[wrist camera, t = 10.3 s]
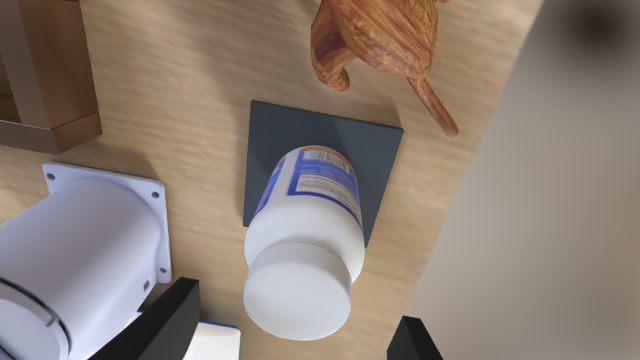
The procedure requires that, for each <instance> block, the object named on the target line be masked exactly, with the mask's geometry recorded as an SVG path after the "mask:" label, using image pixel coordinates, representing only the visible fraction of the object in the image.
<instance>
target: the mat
mask: <svg viewBox="0 0 640 360" xmlns="http://www.w3.org/2000/svg"><path fill="white" fill-rule="evenodd" d="M403 132H404V130H403V128H398V127H393V126H387V125H382V124H377V123H372V122H366V121H361V120H356V119H350V118H345V117H340V116H334V115H329V114H324V113H318V112H313V111H308V110H302V109H297V108H292V107H286V106H281V105H276V104H270V103H265V102H260V101H254V100H252V101H251V109H250V124H249V140H248V155H247V170H246V186H245V201H244V217H243V226H245V227H249V225H250V223H251V221H252V218H253V216H254V214H255V212H256V209H257V207H258V205H259V203H260V200H261V198H262V196H263V194H264V191H265V189H266V187H267V185H268V182H269V180H270V178H271V176H272V173H273V171H274V169H275V167H276V166H277V164H278V163H279V161H280V160H281V159H282V158H283V157H284V156H285V155H286V154H287V153H289V152H291V151H292V150H295V149H297V148H300V147H304V146H310V145H317V146H324V147H328V148H331V149H333V150H335V151H337V152H339V153H340V154H341V155H343V156H344V157H345V158H346V159H347V160H348V162H349V163H350V164H351V166H352V168H353V170H354V172H355V175H356V179H357V186H358V194H359V202H360V211H361V219H362V228H363V236H364V248H367V245H368V241H369V238H370V235H371V232H372V229H373V226H374V223H375V219H376V216H377V213H378V210H379V207H380V204H381V201H382V198H383V194H384V191H385V188H386V185H387V182H388V179H389V176H390V172H391V169H392V166H393V163H394V160H395V157H396V154H397V150H398V147H399V144H400V141H401V138H402V135H403Z"/></svg>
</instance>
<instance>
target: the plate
mask: <svg viewBox="0 0 640 360" xmlns="http://www.w3.org/2000/svg"><path fill="white" fill-rule="evenodd" d="M143 312H144V311H143V310H137V311H136V313H135V314H134V315H133V317H132V318H131V320H130V321H129V323H128V324H127V325H126V327H127V326H128V325H129V324H130V323H131V322H133V321H134V320H135V319H136V318H137V317H138V316H139V315H141V314H142V313H143ZM126 327H125V328H126ZM125 328H124V329H125ZM240 334H241V332H240V330H239V329H238V328H237V327H235V326H233V325H227V324H221V323H215V322H209V321H203V320H199V323H198V325H197V328H196V331H195V333H194V336H193V338H192V341H191V343H190V346H189V348H188V351H187V353H186V354H185V356H184V358H183V360H238V358H239V346H240Z"/></svg>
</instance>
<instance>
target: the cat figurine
mask: <svg viewBox="0 0 640 360" xmlns="http://www.w3.org/2000/svg"><path fill="white" fill-rule="evenodd" d="M434 1H436V2H442V3H445V2H448V1H450V0H434ZM437 22H438V14H437V11H436V8H435V5H434V2H433V0H322V1H321V4H320V7H319V10H318V13H317V15H316V18H315V20H314V22H313V24H312V27H311V58H312V66H313V68H314V70H315V72H316V74H317V76H318V78H319V80H320V81H321V82H323V83H325V84H327V85H328V86H330V87H333V88H335V89H337V90H339V91H340V92H341V91H345V90H347V89H348V88H349V85H350V80H349V76H348V74H347V72H346V70H345V69H344V66H345V64H346V63H348V62H350V61H351V60H353V59H355V58H356V57H359V58H360V59H362V60H363V61H364V62H366V63H367V64H369V65H370V66H372V67H374V68H376V69H379V70H382V71H385V72H388V73H392V74H395V75H401V76H406V78H407V80H408V81H409V83H410V85H411V86H412V88H413V89H414V91H415V92H416V93H417V95H418V96H419V98H420V99H421V101H422V102H423V104H424V105H425V106H426V108H427V109H428V110H429V112H430V113H431V115H432V116H433V117H434V119H435V120H436V121H437V123H438V124H439V126H440V127H441V128H442V130H443V131H444V132H445V133H446V134H447V135H448V136H450V137H455V136H456V135H457V134H458V127H457V126H456V124H455V122H454V121H453V119H452V118H451V116H450V115H449V114H448V112H447V111H446V109H445V108H444V106H443V105H442V104H441V102H440V101H439V99H438V98H437V96H436V95H435V93H434V92H433V90H432V89H431V87H430V86H429V84H428V82H427V81H426V79H425V77H427V76H428V74H429V71H430V67H431V61H432V56H433V52H434V47H435V42H436V34H437Z"/></svg>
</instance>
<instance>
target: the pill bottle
mask: <svg viewBox="0 0 640 360" xmlns="http://www.w3.org/2000/svg"><path fill="white" fill-rule="evenodd" d="M244 253H245V258H246V262H247V265H248V267H249V271H248V275H247V278H246V282H245V285H244V288H243V294H242V300H243V305H244V308H245V311H246V313H247V314H248V316H249V317H250V319H251V320H252V321H253V322H254V323H255V324H256V325H258V326H259V327H260V328H262V329H263V330H265V331H267V332H269V333H271V334H273V335H275V336H278V337H281V338H285V339H291V340H315V339H319V338H323V337H326V336H328V335H330V334H332V333H334V332H335V331H337V330H338V329H339V328H341V327H342V325H343V324H344V323H345V322H346V320H347V318H348V316H349V313H350V310H351V290H352V283H353V282H354V281H355V280H356V278H357V277H358V275H359V273H360V271H361V269H362V266H363V262H364V255H365V248H364V236H363V228H362V219H361V211H360V202H359V194H358V186H357V179H356V175H355V172H354V170H353V168H352V166H351V164H350V163H349V162H348V160H347V159H346V158H345V157H344V156H343V155H341V154H340V153H339V152H337V151H335V150H333V149H331V148H328V147H324V146H317V145H310V146H304V147H300V148H297V149H295V150H292V151H291V152H289V153H287V154H286V155H285V156H284V157H283V158H282V159H281V160H280V161H279V163H278V164H277V166H276V167H275V169H274V171H273V173H272V176H271V178H270V180H269V182H268V185H267V187H266V189H265V191H264V194H263V196H262V198H261V200H260V203H259V205H258V207H257V209H256V212H255V214H254V216H253V218H252V221H251V223H250V225H249V228H248V231H247V233H246V237H245V242H244Z"/></svg>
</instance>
